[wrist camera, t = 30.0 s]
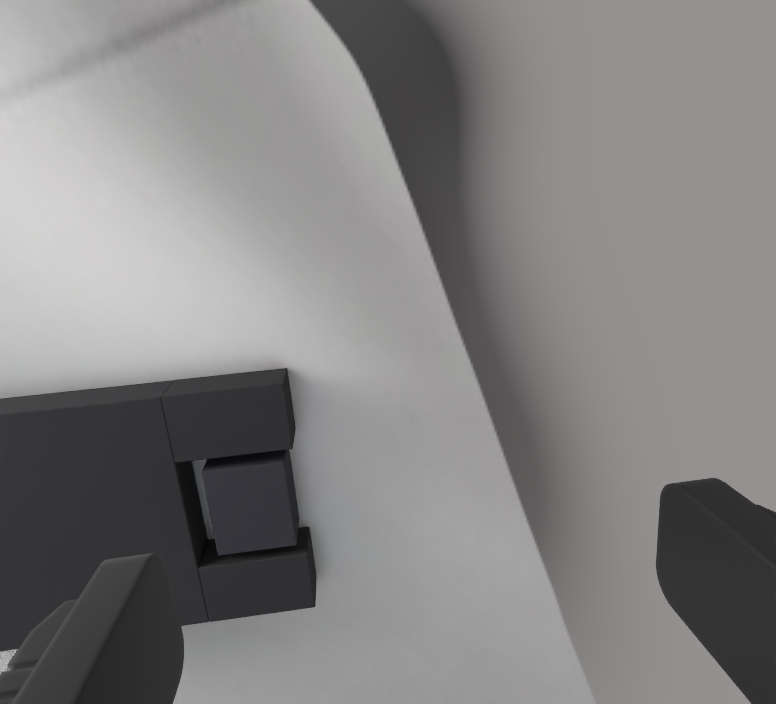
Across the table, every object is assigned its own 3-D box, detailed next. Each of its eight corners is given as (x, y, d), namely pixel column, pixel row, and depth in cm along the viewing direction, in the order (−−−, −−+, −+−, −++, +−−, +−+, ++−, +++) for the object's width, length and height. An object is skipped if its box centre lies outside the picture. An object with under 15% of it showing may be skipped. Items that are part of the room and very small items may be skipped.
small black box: (288, 440, 35) (284, 462, 33) (299, 518, 37) (296, 545, 34) (211, 449, 35) (201, 471, 32) (226, 528, 37) (217, 556, 34)
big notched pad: (287, 367, 34) (283, 383, 31) (316, 577, 39) (315, 607, 36) (-112, 410, 32) (-156, 431, 29) (-32, 624, 37) (-63, 660, 34)
